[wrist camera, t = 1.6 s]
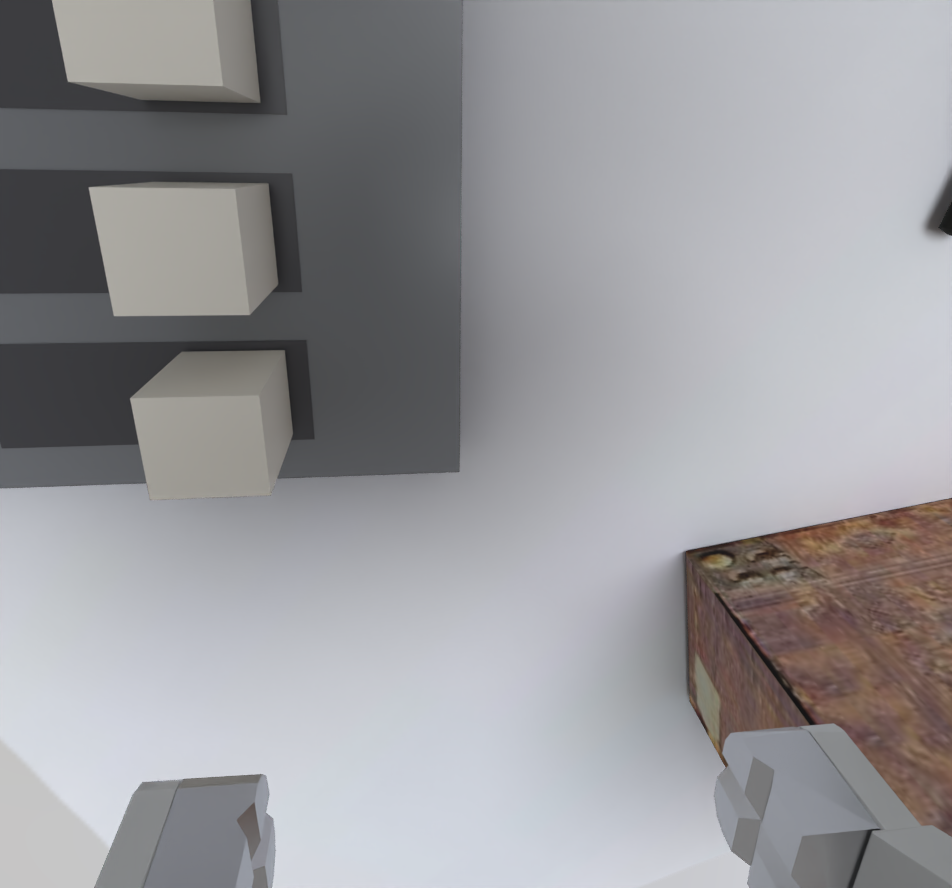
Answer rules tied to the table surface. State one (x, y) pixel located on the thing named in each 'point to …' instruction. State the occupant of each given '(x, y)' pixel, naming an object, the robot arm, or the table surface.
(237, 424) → the block
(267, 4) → the switch panel
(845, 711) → the book
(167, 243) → the tab middle
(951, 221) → the handheld radio
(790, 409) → the table surface
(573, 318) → the table surface
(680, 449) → the table surface
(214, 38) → the tab inner
